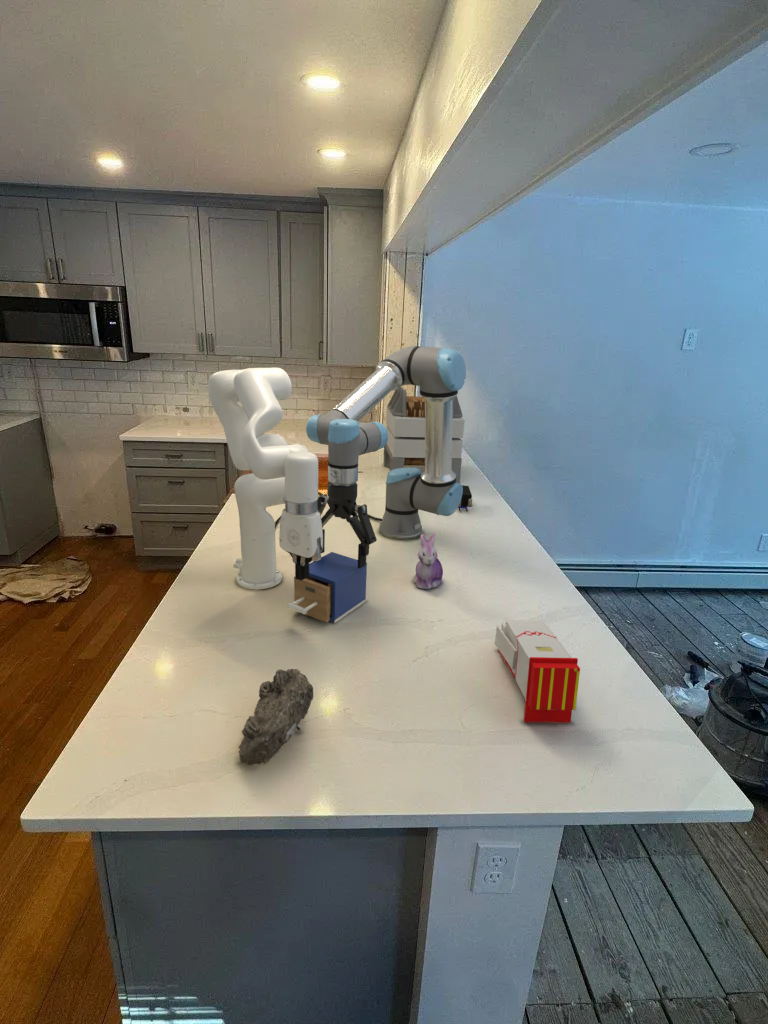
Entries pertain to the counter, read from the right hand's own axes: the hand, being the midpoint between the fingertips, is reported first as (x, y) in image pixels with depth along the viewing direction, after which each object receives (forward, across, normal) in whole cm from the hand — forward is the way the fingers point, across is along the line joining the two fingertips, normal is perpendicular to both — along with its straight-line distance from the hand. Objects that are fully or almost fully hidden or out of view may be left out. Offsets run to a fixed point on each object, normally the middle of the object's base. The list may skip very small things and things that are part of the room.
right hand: (340, 559), depth 149 cm
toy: (+12, +54, -4) cm, 55 cm away
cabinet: (+12, 0, -3) cm, 12 cm away
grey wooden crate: (+10, -45, +125) cm, 133 cm away
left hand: (-1, 0, -15) cm, 15 cm away
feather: (+12, -55, +38) cm, 67 cm away
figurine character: (+11, -7, +92) cm, 93 cm away
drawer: (+11, 0, -9) cm, 14 cm away
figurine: (+12, +14, +24) cm, 30 cm away
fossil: (+13, +20, -46) cm, 52 cm away
